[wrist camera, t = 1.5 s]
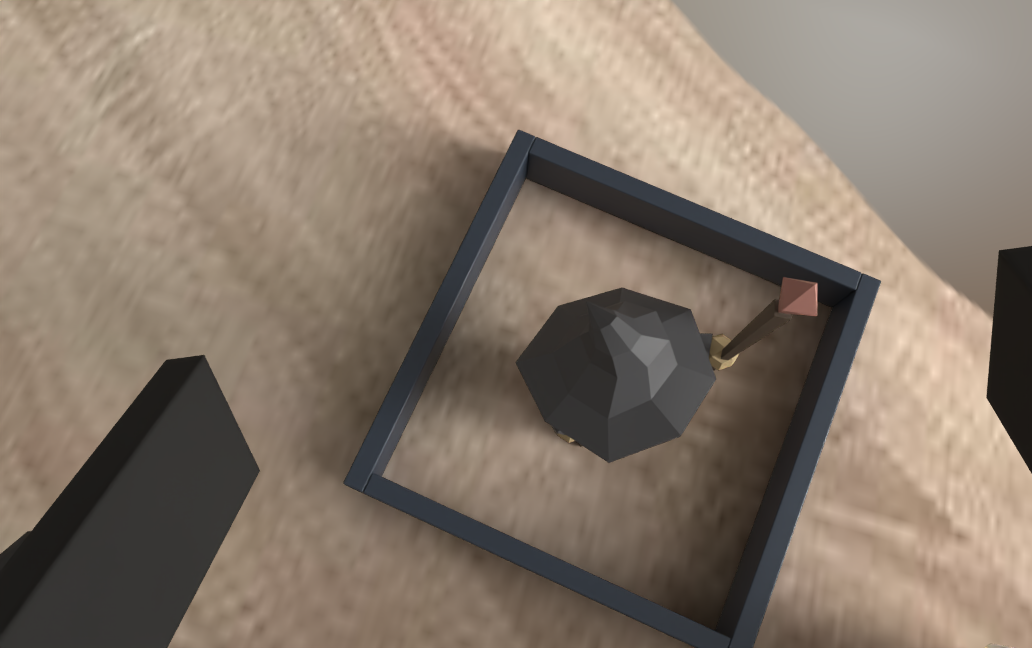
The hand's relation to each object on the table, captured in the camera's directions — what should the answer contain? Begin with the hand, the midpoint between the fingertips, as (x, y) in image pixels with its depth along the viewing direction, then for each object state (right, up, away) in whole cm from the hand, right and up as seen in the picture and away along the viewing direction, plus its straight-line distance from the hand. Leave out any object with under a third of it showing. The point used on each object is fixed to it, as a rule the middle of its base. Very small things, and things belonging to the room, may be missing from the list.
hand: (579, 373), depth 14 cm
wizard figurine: (+3, -2, +20) cm, 21 cm away
